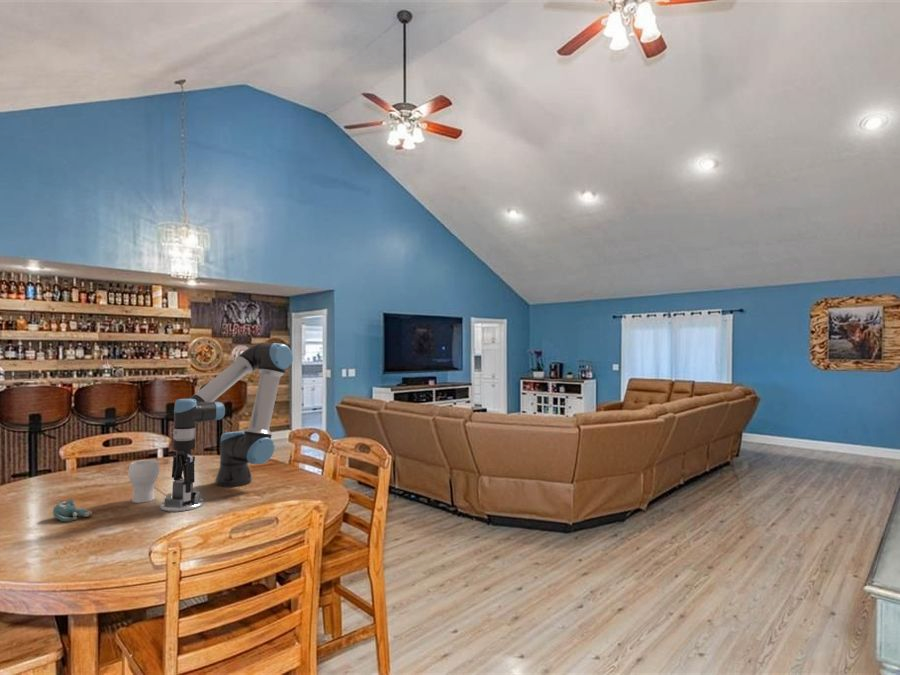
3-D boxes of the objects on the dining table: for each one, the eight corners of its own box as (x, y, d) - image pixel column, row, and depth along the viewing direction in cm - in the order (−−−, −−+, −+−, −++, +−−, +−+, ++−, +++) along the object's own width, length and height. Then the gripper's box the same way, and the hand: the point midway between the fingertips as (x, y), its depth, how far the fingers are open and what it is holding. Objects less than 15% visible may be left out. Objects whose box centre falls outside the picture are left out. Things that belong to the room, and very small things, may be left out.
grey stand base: (153, 506, 196) (153, 495, 196) (193, 497, 207) (193, 487, 207) (170, 514, 186) (170, 503, 186) (211, 505, 198) (211, 494, 198)
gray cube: (168, 499, 196) (169, 480, 196) (187, 496, 202) (188, 477, 202) (176, 503, 192) (177, 483, 192) (195, 499, 197) (196, 480, 197)
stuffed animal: (84, 507, 177) (47, 501, 175) (79, 527, 176) (42, 522, 175) (101, 498, 187) (66, 492, 186) (96, 517, 187) (62, 512, 186)
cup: (164, 497, 207) (165, 460, 207) (141, 505, 197) (142, 466, 197) (145, 495, 210) (146, 458, 210) (121, 502, 200) (122, 463, 200)
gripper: (163, 437, 201) (161, 496, 200) (185, 443, 188) (183, 506, 187) (183, 435, 206) (180, 492, 206) (206, 441, 194) (204, 502, 193)
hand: (182, 498), depth 197 cm, fingers closed on gray cube, 7 cm apart
